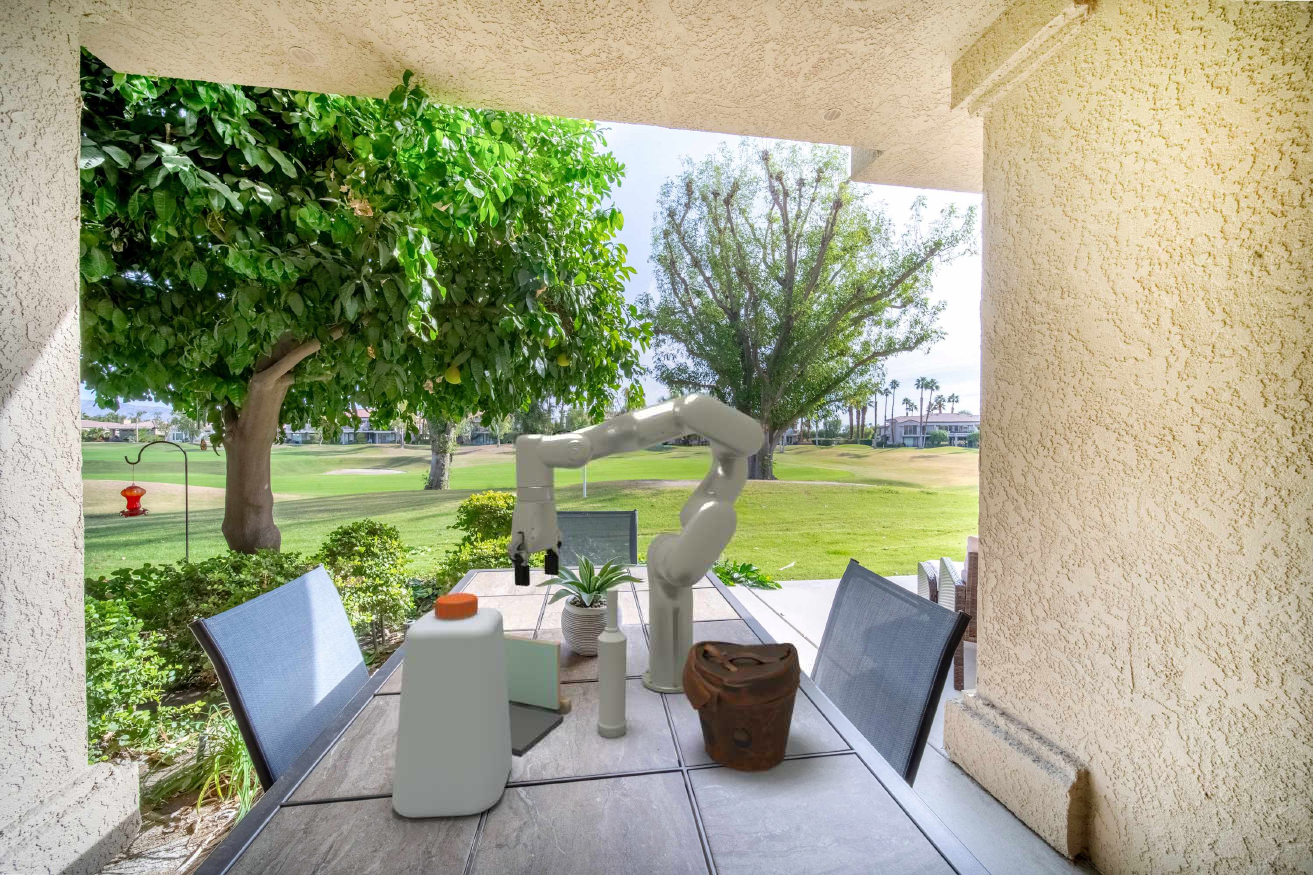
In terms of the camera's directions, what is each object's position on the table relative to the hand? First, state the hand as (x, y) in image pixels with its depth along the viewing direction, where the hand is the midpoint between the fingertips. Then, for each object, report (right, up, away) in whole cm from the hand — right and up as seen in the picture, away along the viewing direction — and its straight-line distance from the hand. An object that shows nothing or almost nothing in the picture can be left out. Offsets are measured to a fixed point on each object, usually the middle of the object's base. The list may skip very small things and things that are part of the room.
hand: (537, 579), depth 115 cm
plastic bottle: (-6, -23, -31) cm, 39 cm away
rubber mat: (-4, -23, -13) cm, 27 cm away
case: (+38, -23, -21) cm, 50 cm away
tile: (-1, -22, -6) cm, 23 cm away
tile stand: (0, -24, -4) cm, 24 cm away
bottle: (+16, -23, -14) cm, 32 cm away
